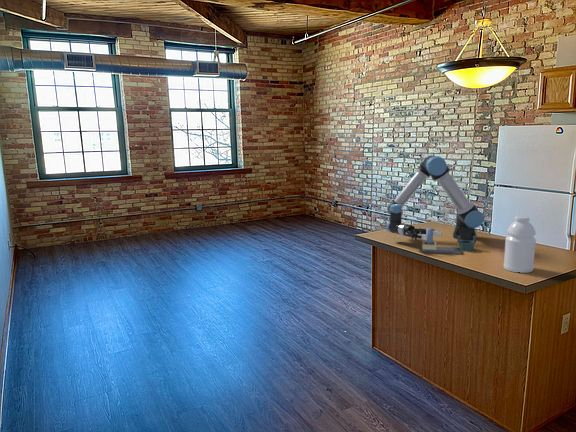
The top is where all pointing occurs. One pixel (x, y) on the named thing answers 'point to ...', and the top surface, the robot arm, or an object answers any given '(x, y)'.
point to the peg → (429, 236)
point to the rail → (439, 249)
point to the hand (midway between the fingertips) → (434, 236)
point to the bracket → (466, 244)
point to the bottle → (520, 246)
